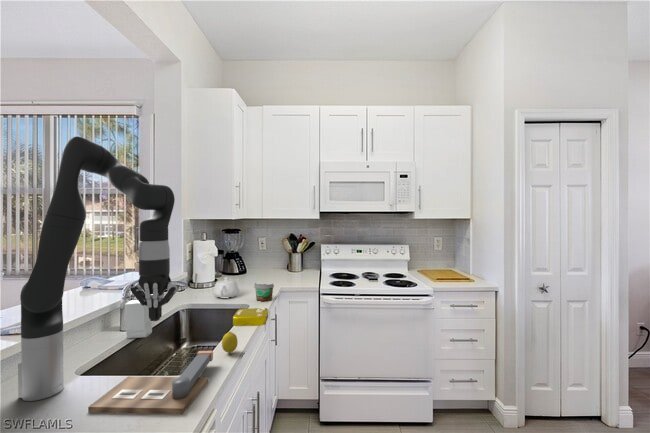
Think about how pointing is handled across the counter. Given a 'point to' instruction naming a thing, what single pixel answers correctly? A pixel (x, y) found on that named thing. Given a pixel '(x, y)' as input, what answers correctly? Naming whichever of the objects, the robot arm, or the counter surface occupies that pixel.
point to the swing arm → (191, 374)
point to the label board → (146, 397)
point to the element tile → (250, 317)
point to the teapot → (226, 288)
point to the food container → (263, 292)
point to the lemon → (229, 342)
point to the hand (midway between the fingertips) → (155, 320)
